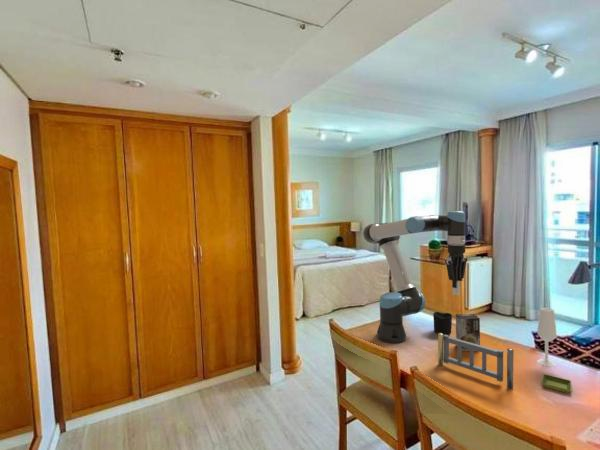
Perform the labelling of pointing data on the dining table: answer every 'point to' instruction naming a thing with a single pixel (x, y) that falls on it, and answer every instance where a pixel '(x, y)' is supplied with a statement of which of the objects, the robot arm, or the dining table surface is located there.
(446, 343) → the gate
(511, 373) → the hinge post
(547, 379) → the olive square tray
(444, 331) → the pen holder
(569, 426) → the dining table surface
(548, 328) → the champagne flute
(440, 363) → the post
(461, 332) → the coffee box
